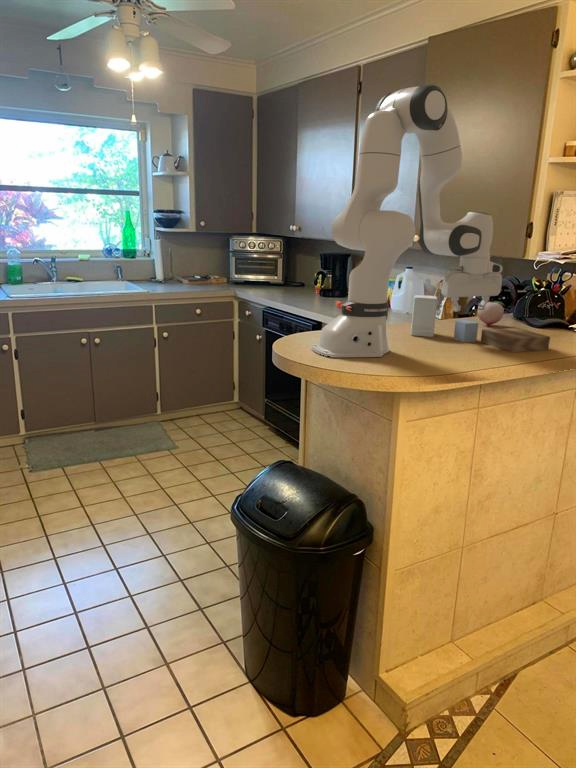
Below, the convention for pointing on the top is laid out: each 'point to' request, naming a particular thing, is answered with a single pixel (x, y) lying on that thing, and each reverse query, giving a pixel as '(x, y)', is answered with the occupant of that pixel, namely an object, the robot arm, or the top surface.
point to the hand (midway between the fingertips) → (469, 310)
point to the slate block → (466, 330)
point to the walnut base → (515, 339)
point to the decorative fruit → (491, 312)
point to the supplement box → (423, 315)
